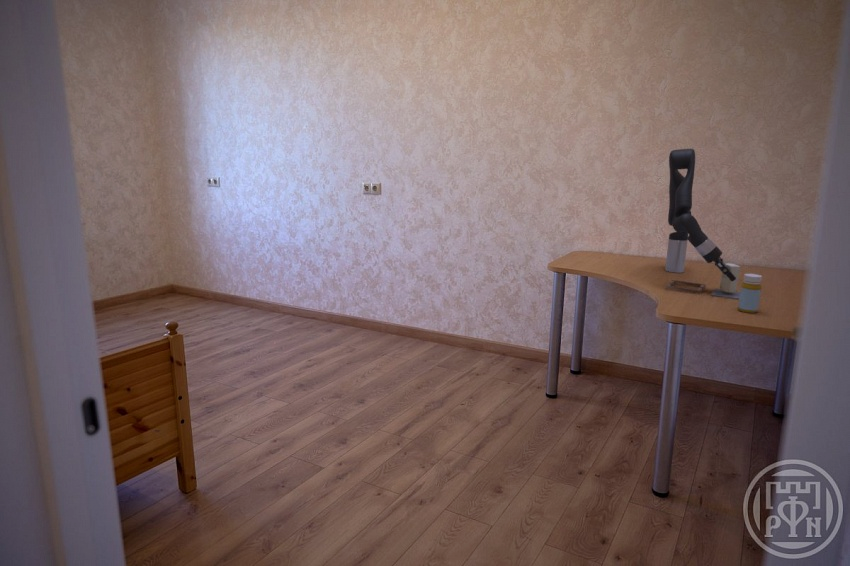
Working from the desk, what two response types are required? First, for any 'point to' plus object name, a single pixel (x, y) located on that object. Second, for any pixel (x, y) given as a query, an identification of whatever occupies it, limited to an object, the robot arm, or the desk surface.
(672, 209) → the robot arm
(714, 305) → the desk surface
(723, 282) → the skincare box
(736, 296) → the charcoal mat
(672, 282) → the frame
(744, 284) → the bottle
